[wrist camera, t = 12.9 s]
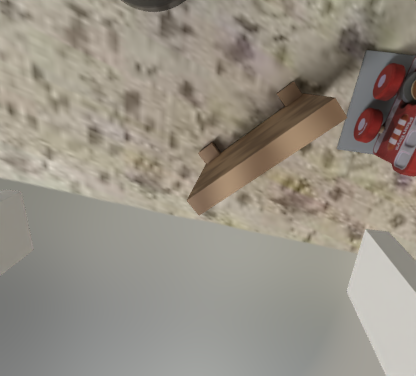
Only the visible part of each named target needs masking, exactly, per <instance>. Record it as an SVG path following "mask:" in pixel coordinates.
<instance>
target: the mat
mask: <svg viewBox="0 0 416 376" xmlns="http://www.w3.org/2000/svg"><path fill="white" fill-rule="evenodd" d="M415 57H416V56H413V55H405V54H396V53H388V52H379V51H370V50H366V52H365V56H364V59H363V62H362V66H361V69H360V72H359V76H358V79H357V82H356V86H355V89H354V92H353V96H352V99H351V102H350V106H349V109H348V112H347V119H345V123H344V126H343V129H342V133H341V136H340V139H339V143H338V146H337V149H340V150H347V151H354V152H361V153H368V154H374V153H373V148H374V145H375V143H376V141H377V138H378V134H377V136H376V137H375V138H374V139H373V140H372V141H370V142H368V143H364V142H360V141H357V140H355V138H354V128H355V125H356V122H357V120H358V118H359V116H360V115H361V113H362V112H363V111H364V110H366V109H368V108H374V109H379V110H380V111H382V113H383V122H382V125H383V124H384V122H385V121H386V119H387V117H388V114H389V112H390V110H391V107H392V105H393V103H394V101H395V99H396V96H397V94H396V95H395V96H394V97H393V98H391V99H390V100H388V101H382V100H378V99H375V98H374V97H373V88H374V84H375V82H376V80H377V78H378V76H379V74H380V73H381V71H382V70H383V69H384V68H385V67H386V66H387V65H388V64H391V63H396V64H400V65H403V66H404V67H405V69H406V75H407V73H408V70H409V68H410V66H411V64H412V62H413V60H414V58H415ZM406 75H405V77H406ZM374 155H375V154H374Z"/></svg>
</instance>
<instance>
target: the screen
mask: <svg viewBox="0 0 416 376" xmlns="http://www.w3.org/2000/svg"><path fill="white" fill-rule="evenodd" d="M277 95H278V97H279V98H280V100H281V101H282V103H283V104H284V106H285V107H283V108H282V109H281V110H279V111H278V112H277V113H275V114H274V115H272V116H271V117H270V118H268V119H267V120H266V121H264V122H263V123H261V124H260V125H259V126H257V127H256V128H255V129H253V130H252V131H250V132H249V133H248V134H246V135H245V136H244V137H242V138H241V139H239V140H238V141H237V142H235V143H234V144H233V145H231V146H230V147H228V148H227V149H226V150H224V151H223V152H222V153H221V152H220V151H219V150H218V148H217V147H216V146H215V144H214V143H213V142H212V143H210V144H209V145H208V146H206V147H205V148H204V149H202V150H201V151H200V152H199V153H198V154H199V155H200V157H201V158H202V159H203V160H204V162H205V163H206V165H205V167H204V169H203V171H202V173H201V175H200V176H199V178H198V180H197V182H196V184H195V186H194V188H193V190H192V192H191V193H190V195H189V197H188V199H187V202H188V203H189V204H190V205H191V206H192V208H193V209H194V210H195V211H196V213H197V214H198V215H201V214H202V213H204V212H205V211H207V210H208V209H210V208H211V207H213V206H214V205H216V204H217V203H219V202H220V201H222V200H223V199H225V198H226V197H228V196H230V195H231V194H233V193H234V192H236V191H237V190H239V189H240V188H242V187H243V186H245V185H246V184H248V183H249V182H251V181H252V180H254V179H255V178H257V177H258V176H260V175H261V174H263V173H265V172H266V171H268V170H269V169H271V168H272V167H274V166H275V165H277V164H278V163H280V162H281V161H283V160H284V159H286V158H287V157H289V156H290V155H292V154H293V153H295V152H296V151H298V150H299V149H301V148H303V147H304V146H306V145H307V144H309V143H310V142H312V141H313V140H315V139H316V138H318V137H319V136H321V135H322V134H324V133H325V132H327V131H328V130H330V129H331V128H333V127H334V126H336V125H337V124H339V123H341V122H342V121H344V120H345V119H347V116H346V114H345V113H344V111H343V110H342V108H341V106H340V105H339V103H338V102H337V100H336V98H333V97H326V96H319V95H312V94H305V93H303V94H302V93H301V91H300V90H299V88H298V87H297V85H296V84H295V82H291V83H290V84H289V85H287V86H286V87H285V88H283V89H282V90H281V91H279V92H278V93H277Z"/></svg>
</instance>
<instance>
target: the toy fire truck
mask: <svg viewBox="0 0 416 376" xmlns="http://www.w3.org/2000/svg"><path fill="white" fill-rule="evenodd" d="M405 75H406V69H405V67H404V66H403V65H400V64H396V63H391V64H388V65H387V66H386V67H385V68H384V69H383V70H382V71H381V73H380V74H379V76H378V78H377V80H376V82H375V84H374V88H373V97H374V98H375V99H378V100H382V101H388V100H390V99H391V98H393V97H394V96H395V95H396V94H397V96H396V99H395V101H394V103H393V105H392V107H391V110H390V112H389V114H388V117H387V119H386V121H385V122H384V124H383V125H382V122H383V113H382V111H380V110H379V109H374V108H368V109H366V110H364V111H363V112H362V113H361V115H360V116H359V118H358V120H357V122H356V125H355V128H354V138H355V140H357V141H360V142H364V143H368V142H370V141H372V140H373V139H374V138H375V137H376V136H377V134H378V138H377V141H376V143H375V145H374V148H373V153H374V154H375V155H376V156H378V157H380V158H382V159H384V160H386V161H388V162H390V163H391V164H392V167H393V170H395V171H396V172H398V173H400V174H403V175H408V176H416V57H415V58H414V60H413V62H412V64H411V66H410V68H409V70H408V73H407V75H406V77H405Z"/></svg>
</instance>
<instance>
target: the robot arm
mask: <svg viewBox="0 0 416 376" xmlns="http://www.w3.org/2000/svg"><path fill="white" fill-rule="evenodd" d="M121 1H123V2H124V3H126V4H127V5H129V6H131V7H133V8H136V9H139V10H143V11H149V12H158V11H164V10H168V9H171V8H173V7H176V6H178V5H179V4H181V3H182V2H184V1H185V0H121ZM33 250H34V248H33V244H32V239H31V234H30V230H29V225H28V221H27V215H26V211H25V207H24V201H23V197H22V192H21V191H14V190H2V191H0V276H1V275H2V274H3V273H4V272H6V271H7V270H8V269H9V268H11V267H12V266H13V265H15V264H16V263H17V262H18V261H20V260H21V259H22V258H23V257H25V256H26V255H27V254H29V253H30V252H31V251H33ZM347 293H348V295H349V298H350V300H351V302H352V304H353V306H354V308H355V310H356V313H357V315H358V317H359V319H360V321H361V323H362V325H363V328H364V330H365V332H366V334H367V336H368V338H369V340H370V342H371V345H372V347H373V349H374V351H375V353H376V355H377V358H378V360H379V362H380V364H381V366H382V368H383V370H384V373H385V375H386V376H416V260H415V259H414V258H413V257H412V256H411V255H410V254H409V253H408V252H407V251H406V250H405V249H404V248H403V247H402V245H401V244H400V243H399V242H398V241H397V240H396V239H395V238H394V237H393V236H392V235H391V234H390V233H389V232H387V231H378V230H369V229H365V232H364V236H363V239H362V242H361V246H360V249H359V252H358V256H357V259H356V262H355V265H354V269H353V272H352V276H351V279H350V282H349V286H348V289H347Z"/></svg>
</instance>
